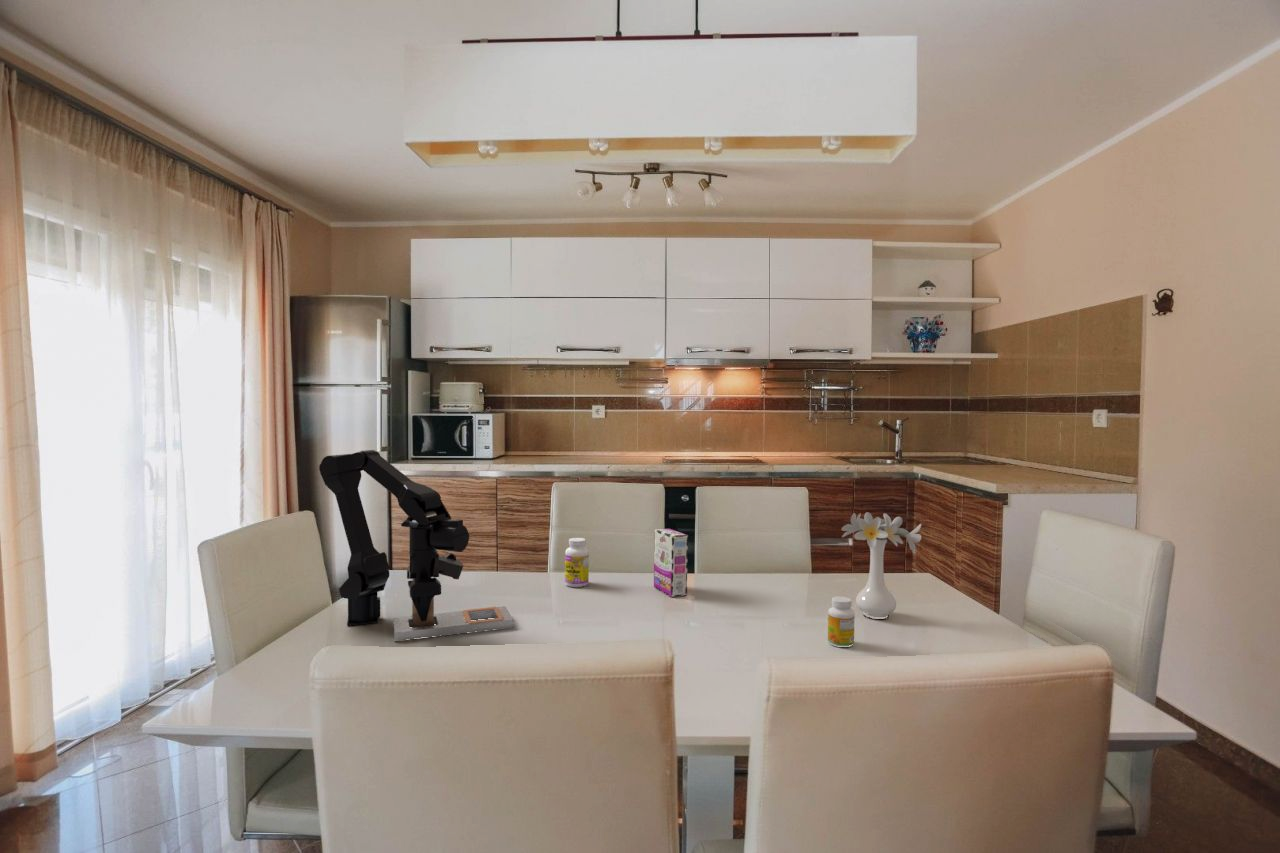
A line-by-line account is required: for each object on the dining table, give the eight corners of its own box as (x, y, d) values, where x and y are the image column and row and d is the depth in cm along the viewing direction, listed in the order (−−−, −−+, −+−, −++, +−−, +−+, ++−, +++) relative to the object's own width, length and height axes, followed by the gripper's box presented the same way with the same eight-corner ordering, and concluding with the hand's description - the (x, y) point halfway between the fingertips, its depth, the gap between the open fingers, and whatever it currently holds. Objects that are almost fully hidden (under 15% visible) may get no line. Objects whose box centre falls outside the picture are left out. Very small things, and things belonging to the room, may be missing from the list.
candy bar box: (688, 596, 172) (689, 534, 171) (671, 598, 170) (672, 536, 169) (668, 585, 182) (669, 527, 181) (652, 587, 180) (653, 528, 179)
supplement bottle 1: (560, 585, 180) (560, 540, 180) (573, 580, 186) (573, 536, 185) (580, 589, 177) (580, 542, 176) (593, 583, 183) (593, 538, 182)
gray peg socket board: (394, 642, 136) (394, 631, 136) (393, 626, 146) (393, 617, 145) (513, 627, 146) (513, 618, 146) (505, 614, 155) (505, 605, 155)
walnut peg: (412, 635, 140) (412, 594, 140) (411, 628, 144) (411, 589, 144) (434, 633, 142) (434, 592, 142) (432, 626, 146) (432, 587, 146)
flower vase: (927, 625, 151) (930, 518, 150) (848, 624, 151) (850, 517, 150) (904, 607, 164) (906, 509, 163) (831, 606, 164) (833, 508, 163)
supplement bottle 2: (823, 639, 141) (824, 595, 140) (848, 639, 141) (848, 595, 141) (833, 648, 135) (833, 603, 135) (858, 648, 136) (859, 602, 135)
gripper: (465, 554, 137) (465, 626, 137) (456, 537, 154) (455, 601, 155) (410, 558, 133) (410, 633, 133) (406, 540, 150) (406, 606, 151)
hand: (423, 617), depth 143 cm, fingers closed on walnut peg, 4 cm apart
